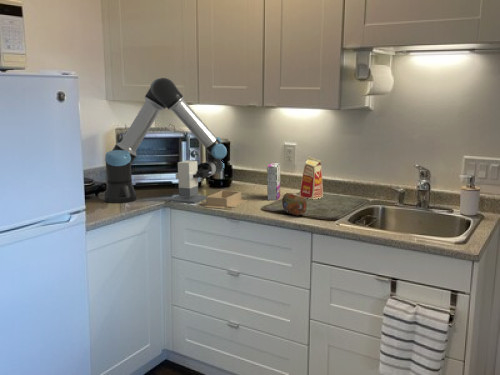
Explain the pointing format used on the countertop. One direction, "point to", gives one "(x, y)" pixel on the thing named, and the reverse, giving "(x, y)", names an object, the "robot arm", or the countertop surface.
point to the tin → (294, 203)
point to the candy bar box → (273, 181)
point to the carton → (224, 199)
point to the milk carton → (312, 180)
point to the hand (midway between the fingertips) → (182, 176)
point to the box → (186, 185)
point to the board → (188, 199)
